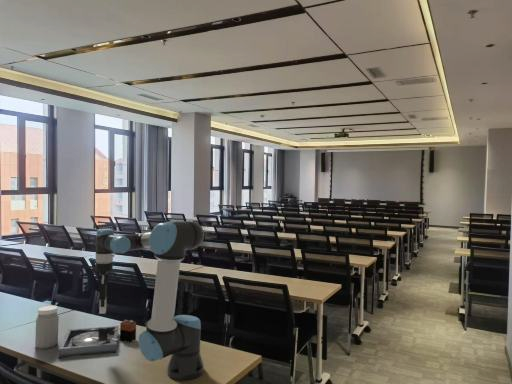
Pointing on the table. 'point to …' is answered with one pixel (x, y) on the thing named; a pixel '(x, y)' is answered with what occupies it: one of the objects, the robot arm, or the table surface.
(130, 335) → the battery
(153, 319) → the robot arm
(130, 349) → the table surface
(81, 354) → the housing
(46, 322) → the jar
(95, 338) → the dial
